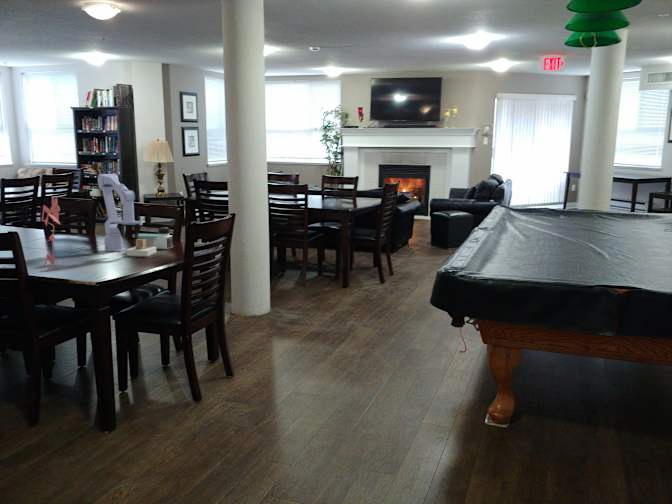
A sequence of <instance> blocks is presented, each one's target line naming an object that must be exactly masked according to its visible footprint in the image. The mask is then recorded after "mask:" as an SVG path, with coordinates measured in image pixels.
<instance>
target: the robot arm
mask: <svg viewBox="0 0 672 504" xmlns="http://www.w3.org/2000/svg"><path fill="white" fill-rule="evenodd" d="M97 185H98V188H99V191H102V196H103V199H104V204H105V209H106V212H107V218H108V219H107V220H106V221H105V222H104V231H105V234H106V235H105V236H104V239H103V241H104V242H103V243H104V250H103V251H104V252H119V253H120V252H123V251H125V250H127V248H124V241H123V240H124V239H123V238H125V237H126V236H125V234H126V233H125V232H126V226H127V225H132V226H133V231H134V236H135V237H134V238H135V239H139V237H138V234H140V230H141V228H142V226H143V223H144V222H143V220H135V205H134V204H135V203H134V202H135V200H136V194H135V192H134V190H129V189H128V188H127V186H125V184H124V183H120V180H119V176H118V174H117V173H99V174H98V175H97ZM113 190H115V192H116V193H117V195H119V199H120V203H121V206H122V219H121V218H119V217H118V213H117V207H116V203H115V200H114V196H113V195H114V194H113Z"/></svg>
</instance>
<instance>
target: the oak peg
mask: <svg viewBox="0 0 672 504" xmlns="http://www.w3.org/2000/svg"><path fill="white" fill-rule="evenodd" d="M135 246H136V249H146V239H144V238H136V239H135Z"/></svg>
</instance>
